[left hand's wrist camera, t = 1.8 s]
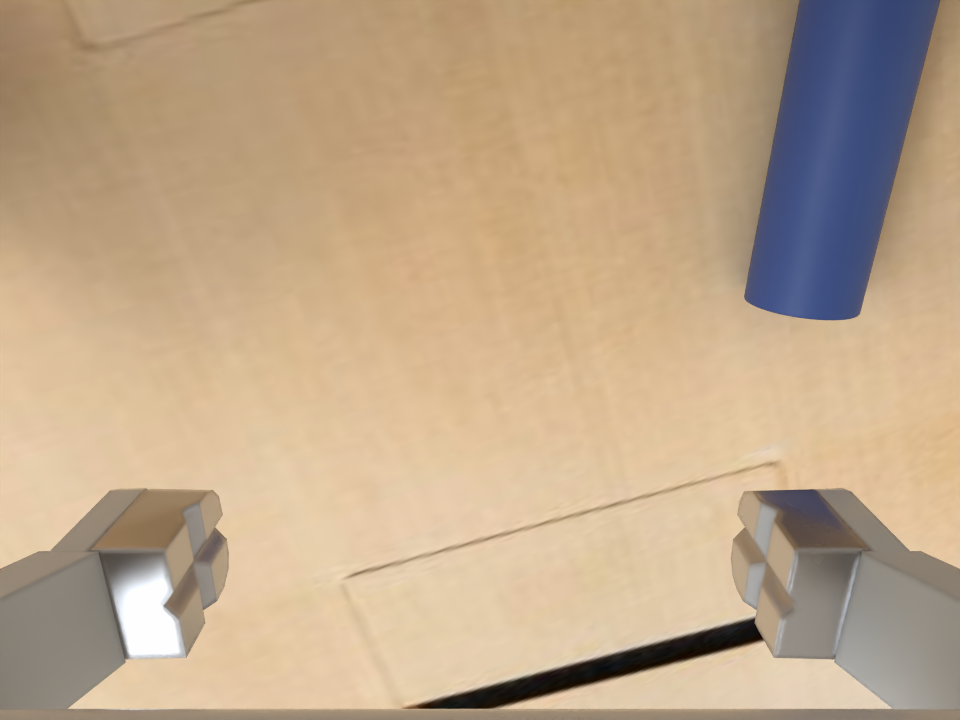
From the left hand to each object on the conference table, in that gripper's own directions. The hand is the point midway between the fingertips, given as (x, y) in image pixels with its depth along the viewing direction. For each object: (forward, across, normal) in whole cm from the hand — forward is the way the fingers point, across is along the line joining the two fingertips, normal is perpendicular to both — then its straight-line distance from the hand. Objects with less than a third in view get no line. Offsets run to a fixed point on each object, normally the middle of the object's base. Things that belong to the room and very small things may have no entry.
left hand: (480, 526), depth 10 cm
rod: (+30, -19, -8) cm, 36 cm away
